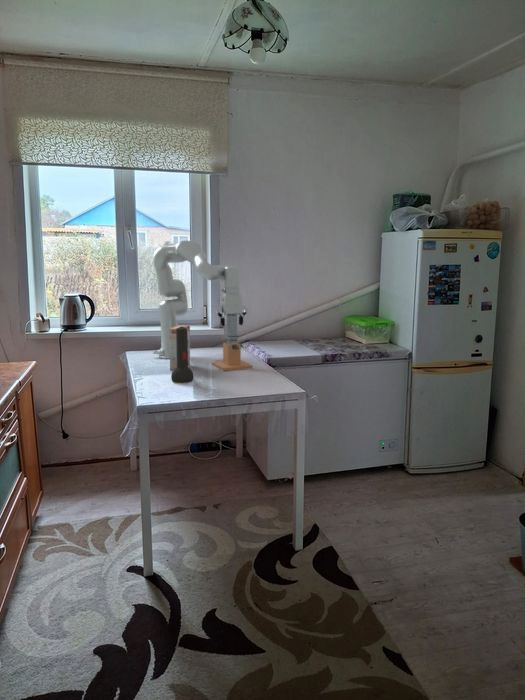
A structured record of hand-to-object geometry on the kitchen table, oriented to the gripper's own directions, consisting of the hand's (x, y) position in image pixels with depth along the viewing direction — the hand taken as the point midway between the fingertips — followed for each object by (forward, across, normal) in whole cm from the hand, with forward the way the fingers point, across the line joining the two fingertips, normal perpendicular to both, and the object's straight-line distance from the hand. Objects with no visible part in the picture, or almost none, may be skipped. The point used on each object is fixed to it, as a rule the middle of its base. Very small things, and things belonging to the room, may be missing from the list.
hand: (231, 325), depth 254 cm
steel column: (+13, 0, 0) cm, 13 cm away
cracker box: (+22, -25, +7) cm, 34 cm away
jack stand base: (+21, 0, 0) cm, 21 cm away
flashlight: (+22, -32, -19) cm, 43 cm away
